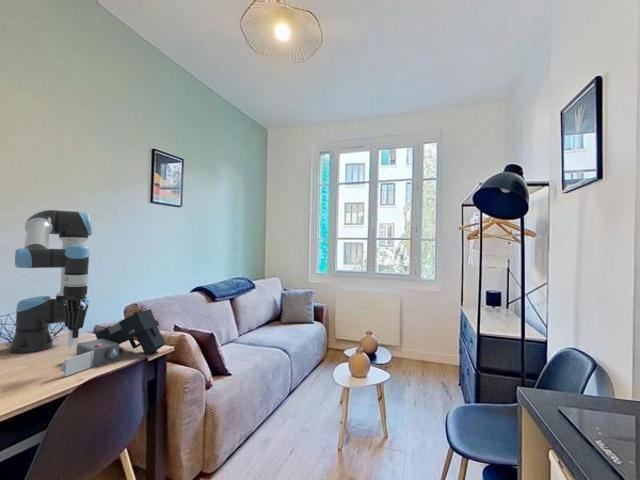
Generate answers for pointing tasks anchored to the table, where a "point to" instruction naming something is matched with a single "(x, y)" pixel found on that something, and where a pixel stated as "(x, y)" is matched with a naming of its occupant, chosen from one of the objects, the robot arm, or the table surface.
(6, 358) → the table surface
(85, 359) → the door
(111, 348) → the camera body
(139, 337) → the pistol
